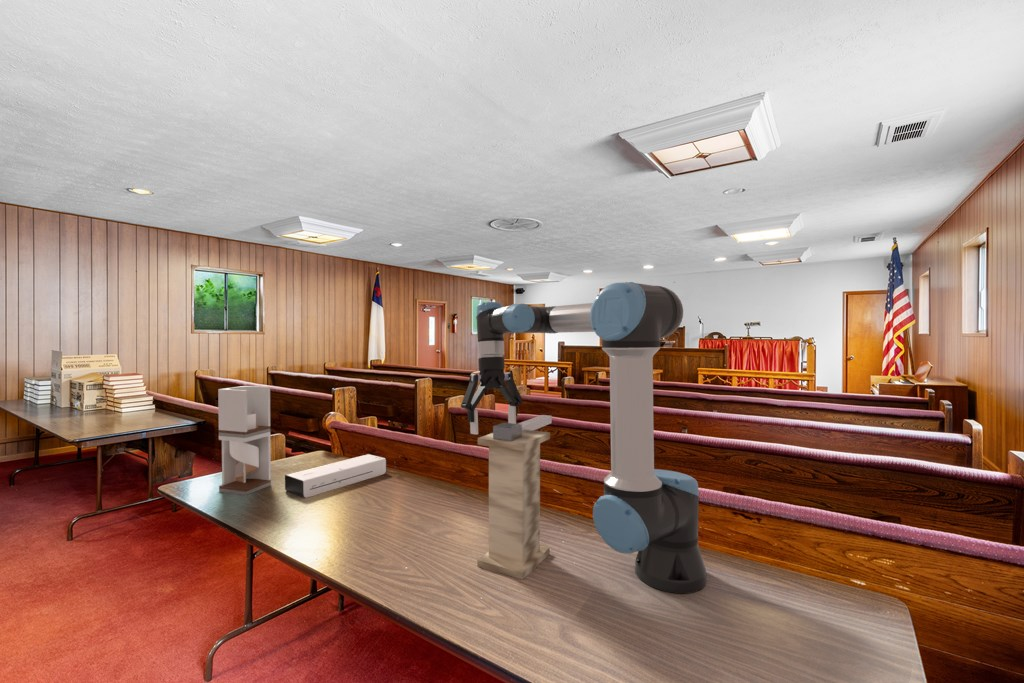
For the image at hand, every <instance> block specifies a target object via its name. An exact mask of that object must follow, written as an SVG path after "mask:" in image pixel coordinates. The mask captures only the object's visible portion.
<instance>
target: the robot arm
mask: <svg viewBox="0 0 1024 683" xmlns="http://www.w3.org/2000/svg"><path fill="white" fill-rule="evenodd" d="M683 317H684V307H683V304H682V300H681V299H680V298H679V296H678V295H677V294H676V293H675V292H674V291H673V290H671V289H669V288H668V287H664V286H661V285H652V284H645V283H638V282H633V281H631V282H630V281H629V282H628V281H626V282H614V283H611V284H609V285H607V286H605V287H603V288H602V289H601V290H600V292H598V294H597V295H596V296H595V298H594V299H593V302H588V303H576V304H566V305H554V306H531V305H530V306H529V305H528V304H526V303H513V304H511V305H507V306H503V304H502V303H501V302H497V301H486V302H484V301H483V302H480V303H478V305H477V306H476V316H475V318H476V332H477V334H476V335H477V337H476V338H477V355H478V356H479V358H478V359H477V360H478V362H477V363H478V371H479V374H478V373H477V374H476V373H473V374H472V373H471V374H470V375H469V383H468V386H467V389H466V391H465V394H464V397H463V399H462V402H461V404H460V408H461V409H464V410H466V411H467V422H468V423H469V426H470V428H469V431H470V432H469V433H470V435H479V420H478V419H479V418H478V417H479V414H478V412H479V411H478V410H477V409H476V408H477V406H478V405H479V403H480V402H481V400H482V398H483V397H484V395H485V393H486V392H487V391H488V390H493V389H494V390H498V391H499V392H500V393H501V394H502V396H503V397H504V398H505V400H506V401H507V403H508V404H509V405H507V421H508V422H507V423H513V424H517V417H518V407H519V406H520V405H521V404H522V403H523V398H522V397H521V393H520V391H519V389H518V387H517V383H515V379H514V373H513V372H505V371H504V370H505V368H506V365H505V363H506V362H505V357H504V355H505V341H504V340H505V339H504V335H506V334H508V335H509V334H557V333H589V332H590V333H591V332H592V333H593V332H594V333H595V334H596V336H598V337H599V338H600V339H601V350H602V351H603V352H604V353H606V354H607V355H608V357H609V397H610V398H609V399H610V401H609V404H610V408H609V409H610V412H609V413H610V415H609V416H610V472H608V474H607V475H606V476H605V477H604V478H603V495H602V496H601V495H600V497H599V498H597V501H596V502H594V504H593V508H592V519H593V523H594V527H595V529H596V531H597V533H598V535H599V536H600V537H601V538H602V540H603V541H604V543H605V544H606V545H607V546H609V547H610V549H612V550H614V551H615V552H618V553H621V554H626V555H627V554H629V555H630V554H633V553H636V552H637V554H636V557H635V564H634V565H635V566H634V568H635V570H634V571H635V574H636V576H637V577H638V579H639V580H641V581H642V582H643V583H644V584H646V585H648V586H650V587H652V588H654V589H657V590H659V591H664V592H668V593H674V594H690V593H695V592H698V591H700V590H702V589H703V588H704V587H705V586H706V584H707V569H706V566H705V563H704V560H703V557H702V553H701V551H700V547H699V510H700V509H699V506H700V505H699V503H700V502H699V501H700V499H699V498H700V492H699V483H698V481H697V479H696V478H694V477H692V476H691V475H688V474H685V473H682V472H679V471H673V470H668V469H659V468H658V469H656V468H655V441H654V435H655V434H654V433H655V432H654V430H655V428H654V377H653V376H654V375H653V374H654V372H653V371H654V370H653V368H654V366H653V365H654V364H653V358H654V356H655V355H656V353H657V352H658V351H659V350H660V349H661V339H664V338H667V337H669V336H671V335H672V334H674V332H676V331H677V329H679V327H680V326H681V323H682V321H683ZM504 381H505V382H504ZM478 384H479V385H478Z"/></svg>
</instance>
